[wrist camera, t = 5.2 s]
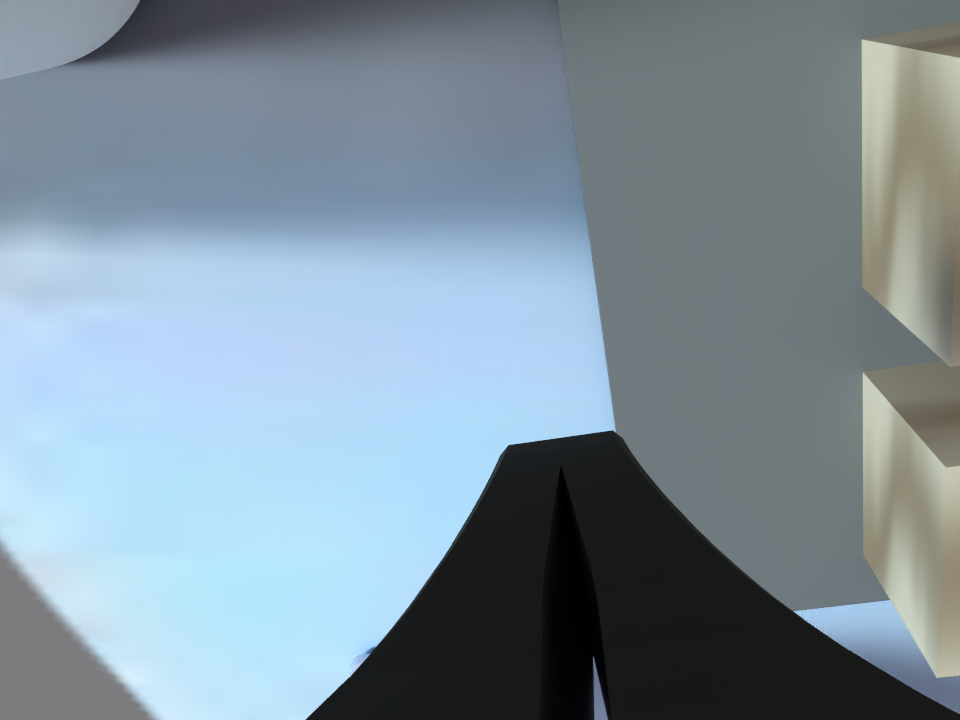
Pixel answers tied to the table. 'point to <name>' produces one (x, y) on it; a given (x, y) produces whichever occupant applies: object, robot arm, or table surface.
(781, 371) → the mat
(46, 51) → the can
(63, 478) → the table surface
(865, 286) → the plain block
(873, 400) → the beige square block
